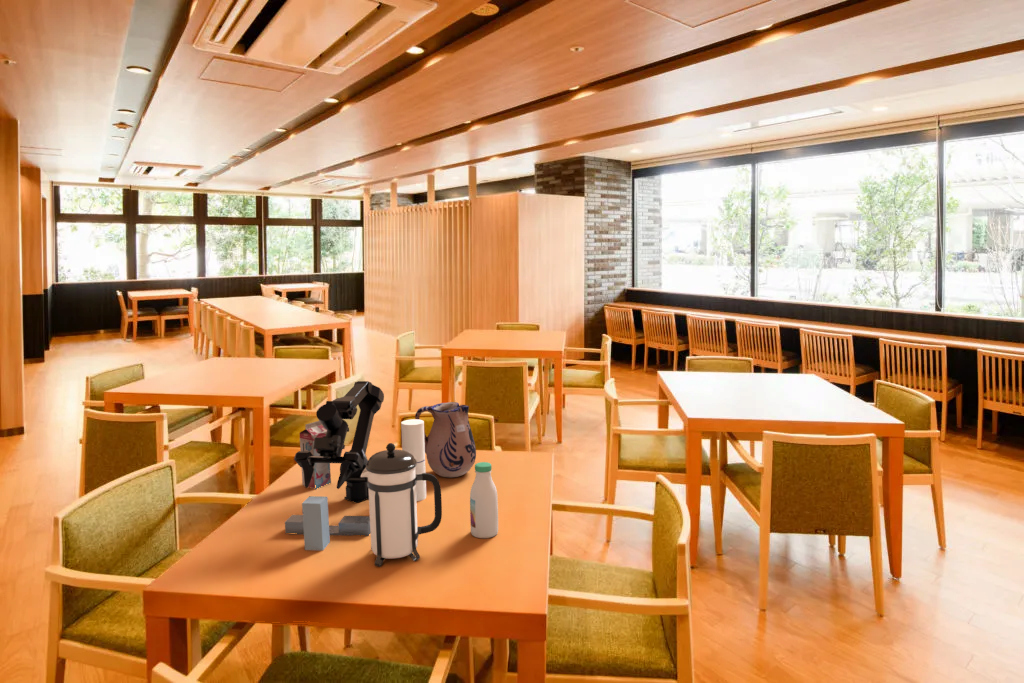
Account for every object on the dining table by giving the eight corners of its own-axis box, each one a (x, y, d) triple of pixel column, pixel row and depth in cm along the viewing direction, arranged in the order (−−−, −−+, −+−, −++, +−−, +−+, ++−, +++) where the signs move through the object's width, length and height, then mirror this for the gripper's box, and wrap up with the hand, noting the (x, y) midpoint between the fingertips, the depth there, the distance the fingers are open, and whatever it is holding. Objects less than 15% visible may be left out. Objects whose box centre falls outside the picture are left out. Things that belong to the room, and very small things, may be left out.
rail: (293, 526, 184) (292, 514, 184) (373, 528, 182) (373, 516, 182) (285, 534, 179) (284, 521, 179) (368, 535, 178) (368, 523, 177)
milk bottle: (502, 529, 181) (501, 461, 178) (492, 540, 173) (491, 469, 171) (477, 525, 183) (475, 458, 180) (466, 537, 176) (464, 467, 173)
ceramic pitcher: (479, 480, 221) (477, 410, 217) (417, 484, 217) (415, 413, 214) (473, 464, 238) (472, 399, 235) (416, 468, 234) (414, 401, 231)
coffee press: (400, 575, 155) (395, 456, 151) (353, 559, 163) (347, 446, 160) (444, 547, 170) (441, 438, 166) (399, 534, 178) (395, 430, 174)
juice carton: (331, 483, 220) (327, 421, 217) (315, 489, 214) (312, 425, 212) (318, 480, 224) (314, 418, 221) (302, 485, 218) (298, 423, 215)
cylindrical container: (399, 499, 204) (396, 423, 201) (411, 492, 210) (408, 418, 207) (419, 502, 201) (416, 425, 198) (430, 494, 208) (427, 420, 205)
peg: (312, 541, 174) (309, 496, 173) (329, 542, 174) (327, 496, 172) (304, 550, 169) (302, 503, 168) (323, 550, 169) (320, 503, 167)
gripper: (294, 424, 181) (278, 474, 172) (357, 425, 179) (345, 476, 170) (308, 442, 190) (294, 491, 181) (368, 443, 188) (357, 493, 179)
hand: (321, 487), depth 177 cm, fingers open, 9 cm apart
